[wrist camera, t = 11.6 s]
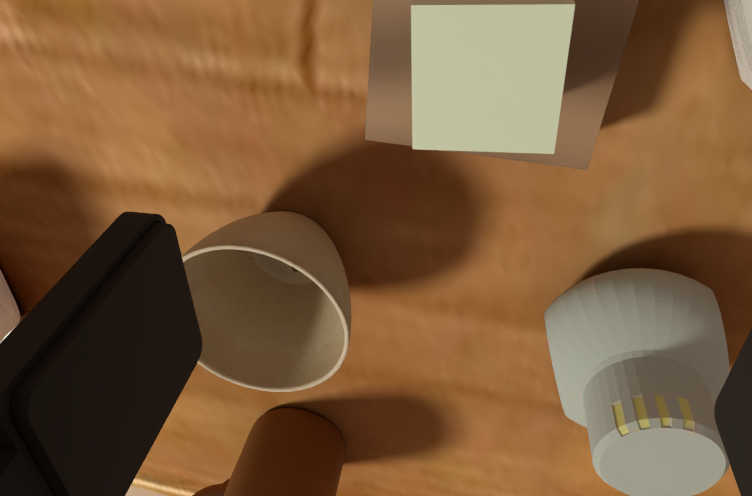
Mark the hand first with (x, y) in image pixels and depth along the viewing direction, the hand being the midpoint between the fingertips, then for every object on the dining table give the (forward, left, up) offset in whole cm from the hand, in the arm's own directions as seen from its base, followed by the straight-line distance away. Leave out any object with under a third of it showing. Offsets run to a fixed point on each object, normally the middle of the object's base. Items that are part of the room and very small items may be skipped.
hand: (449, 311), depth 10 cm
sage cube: (+1, 0, -17) cm, 17 cm away
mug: (+33, -13, -21) cm, 42 cm away
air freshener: (+17, +10, -21) cm, 29 cm away
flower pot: (+14, -10, -21) cm, 27 cm away
